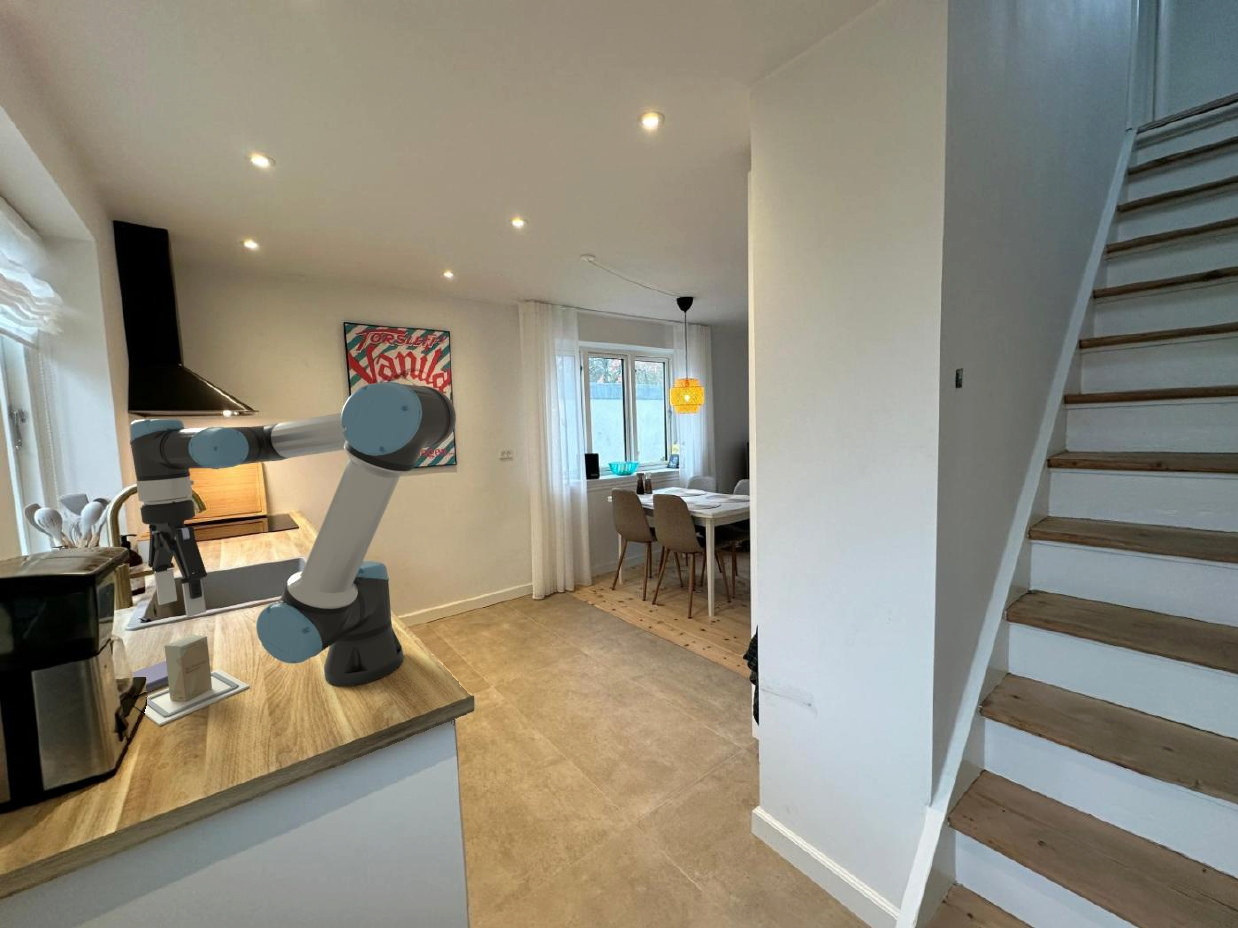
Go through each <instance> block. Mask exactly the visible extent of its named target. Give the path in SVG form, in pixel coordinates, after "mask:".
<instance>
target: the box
mask: <svg viewBox="0 0 1238 928" xmlns="http://www.w3.org/2000/svg"><path fill="white" fill-rule="evenodd" d="M208 644H209V643H208V636H206V635H200V634H199V635H196V634H190V635H187V636H186V637H182V638H180V639H177V640H175V641H173V642H170V643H167V644H165V645H164V654H165V661H166V664H167V674H168V683H169V684H168V688H169V693H170V699H171V700H177V701H185V702H186V701H188V700H190V699H192V698H194V697H196V696H198V695H200V694H202V693H204V692H206V691H208V690H210V689H212V682H211V672H212V671H211V664H210V653H209V652H210V651H209V645H208Z"/></svg>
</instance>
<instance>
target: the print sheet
mask: <svg viewBox="0 0 1238 928" xmlns="http://www.w3.org/2000/svg"><path fill="white" fill-rule="evenodd" d="M210 672H211V682H212V689H210V690H208V691H206V692H204V693H202V694H200V695H198V696H196V697H194V698H192V699H190V700H188V701H186V702H185V701H177V700H171V699H170V693H169V687H168V688H166V689H163V690H161V691H158V692H155V693H153V694H150V695H147V696H148V697H147V696H146V697H147V706H146V709H145V712H144V713H145V715H144V716H145V717H147V718H148V719H149V720H151V721H152V722H153V723H155V724H156V725H157V726H158V727H160V726H162V725H165V724H168V723H170V722H173V721H174V720H177V719H179V718H181V717H184V716H186V715H188V714H191V713H193V712H196V711H197V710H200V709H203V708H206V707H207V706H210V705H212V704H214V703H216V702H219V701H221V700H224V699H226V698H229V697H230V696H233V695H235V694H238V693H240V692H241V691H244V690H247V689H249V688H250V684H247V683H246V682H244V681H242V680H240V679H238V678H236V677H234V676H232V675H230V674H229V673H227V672H225V671H223V670H221V669H219V668H218V669H215V670H213V671H210Z"/></svg>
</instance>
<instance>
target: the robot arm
mask: <svg viewBox="0 0 1238 928" xmlns="http://www.w3.org/2000/svg"><path fill="white" fill-rule="evenodd" d="M456 413H457V412H456V408H455V407H454V405H453V403H452V401H451V400H450V398H449V397H448V396H447V394H445V393H443V392H442V391H440V390H439V389H437V388H434V387H431V386H428V385H427V386H426V385H414V384H406V383H400V382H395V381H383V382H374V383H369V384H366V385H363V386H361V387H360V388H358V389H356V390H355V391H354V392H353V393H351V395H350V396H349V397H347V400H346V402H345V403H344V405H343V407H342V410H341V412H338V413H331V414H326V415H320V416H314V417H309V418H303V419H302V418H301V419H295V420H290V421H285V422H278V423H277V422H276V423H272V424H266V425H256V426H255V425H254V426H229V427H228V426H226V427H225V426H211V427H209V426H208V427H199V428H185V426H184V422H183V420H180V419H178V418H165V419H164V418H162V419H161V418H160V419H158V418H157V419H155V418H154V419H137V420H134V421H132V422H131V423H130V424H129V433H130V440H129V444H130V448H131V454H132V459H133V460H132V461H133V465H134V471H135V472H134V473H135V474H134V475H135V477H136V481H135V482H136V484H135V485H136V489H137V498H138V501H139V502H141V503H142V504H141V505H140V507H139V508H140V515H141V522H142V524H144V525H148V529H149V545H148V546H149V547H148V549H149V550H148V563H147V565H148V566H147V567H149V568H150V569H151V571H153V573H154V575H153V576H154V582H155V589H156V597H157V603H158V605H159V606H161V605H162V606H163V605H166V604H169V603H173V602H176V601H178V595H177V588H176V580H175V574H174V573H175V572H174V569H173V568H175V564H174V563H173V562H172V561H173V558H174V560H175V562H176V565H177V567H178V569H179V572H180V574H181V576H182V578H181V579H180V581H179V585H181V586H182V594H183V600H184V610H185V614H186V615H185V617H187V618H190V617H193V616H196V615H201V614H204V613H206V612H207V609H206V600H205V594H204V585H203V578H207V576H208V572H207V571H206V567H205V564H204V561H203V558H202V555H201V551H200V549H199V546H198V545H199V544H198V543H197V540H196V535H195V529H194V527H193V526H188V527H186V525H185V522H186V521H187V520H191V519H193V518H195V516H196V510H195V504H194V503H195V501H194V500H192V498H190V497H191V496H193V490H192V489H193V488H192V486H193V485H194V484H195V481H194V480H191V472H190V469H192V470H193V469H194V470H195V469H199V470H201V469H211V470H219V469H229V468H235V467H238V466H239V465H240V466H241V465H242V466H243V465H248V464H254V463H256V464H258V463H269V462H277V461H283V460H286V459H293V458H298V457H305V456H310V455H319V454H326V453H331V452H338V451H345V453H346V454H347V455H348V460H347V463H346V465H345V468H344V470H343V472H342V475H341V478H340V480H339V482H338V485H337V488H336V490H335V492H334V494H333V496H332V499H331V502H330V504H329V506H328V509H327V512H326V514H325V516H324V519H323V521H322V524H321V526H320V528H319V530H318V532H317V535H316V538H315V540H314V542H313V545H312V548H311V550H310V552H309V555H308V557H307V560H306V562H305V564H304V567H303V569H302V570H299V571H297V572H295V573H293V574H292V575H291V576H290V577H289V578H288V579H287V582H286V585H285V587H284V589H283V593H282V594H281V597H280V598H279V600H278V601H276V602H272V603H270V604H268V606H267V607H265V608H264V609H262V611H260V613H259V615H258V617H257V619H256V634H257V637H258V640H259V641H260V642H261V645H262V647H263V649H264V650H265V651H266V652H267V653H268V654H269V655H270V656H271V657H273V658H274V659H276V660H278V661H280V662H282V663H286V664H293V665H295V664H301V663H303V662H306V661H308V660H309V659H311V658H315V657H317V656H318V655H320V654H321V652H323V651H324V650H326V649H328V652H327V655H326V657H325V661H324V662H325V663H324V667H323V670H324V679H325V681H326V682H327V683H328V684H331V685H333V686H339V687H348V686H349V687H351V686H358V685H362V684H367V683H370V682H374V681H376V680H379V679H383V678H385V677H386V676H388V675H390V674H391V673H393V672H395V671H396V670H397V669H398V668H399V667H400V666H401V665H402V664H403V662H404V651H403V647H402V644H401V643H400V641H399V638H398V636H397V635H396V632H395V630H394V628H393V625H392V623H393V622H392V611H391V599H390V585H389V581H390V578H389V576H388V568H387V566H386V564H384V563H382V562H381V561H375V560H374V561H372V560H371V561H370V560H369V561H368V560H367V561H366V560H365V557H366V555H367V553H368V550H369V549H370V545H371V543H372V541H373V539H374V537H375V535H376V533H377V529H378V528H379V525H380V523H381V521H382V518H383V516H384V514H385V511H386V510H387V508H388V504H389V503H390V500H391V498H392V496H393V494H394V491H395V489H396V486H397V485H398V482H399V480H400V478H401V476H402V475H405V474H408V473H411V472H412V471H413V470H414V468H415V465H416V463H417V462H418V459H419V457H420V454H421V453H422V450H423V449H428V448H432V447H436V446H438V445H440V444H441V443H443V442H444V441H446V440H447V439H448V438H449V437H450V436H451V434H452V433H453V432H454V429H455V426H456V423H457V414H456ZM364 560H365V561H364Z"/></svg>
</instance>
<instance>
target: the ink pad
mask: <svg viewBox="0 0 1238 928" xmlns="http://www.w3.org/2000/svg"><path fill="white" fill-rule="evenodd" d="M131 673H133V676H134V677H146V679H147V681H146V691H147V693H149V692H151V691H154V690H157V689H158V690H159V689H161V688H162V687H166V686H169V683H168V674H167V664H166V660H165V661H161V662H159V663H156V664H153V665H150V666H148V667H147V666H146V667H144V668H141V669H139V670H135V671H133V672H131Z"/></svg>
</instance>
